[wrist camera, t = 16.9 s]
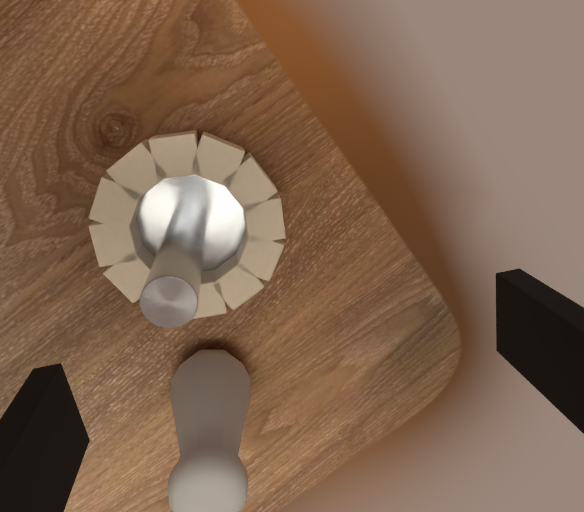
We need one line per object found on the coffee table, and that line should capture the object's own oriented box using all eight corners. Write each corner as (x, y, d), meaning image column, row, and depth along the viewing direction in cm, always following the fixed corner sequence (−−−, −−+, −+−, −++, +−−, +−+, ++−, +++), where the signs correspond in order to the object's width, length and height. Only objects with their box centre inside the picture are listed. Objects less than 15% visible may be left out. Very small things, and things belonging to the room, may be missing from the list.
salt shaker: (157, 376, 37) (125, 516, 25) (205, 323, 36) (197, 441, 24) (217, 415, 39) (215, 564, 27) (264, 365, 38) (285, 495, 26)
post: (114, 172, 32) (40, 230, 19) (235, 151, 33) (245, 192, 19) (146, 284, 35) (100, 402, 22) (257, 262, 35) (278, 364, 22)
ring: (78, 145, 30) (67, 149, 28) (267, 120, 31) (271, 122, 29) (123, 316, 34) (116, 332, 32) (289, 289, 35) (294, 302, 33)
